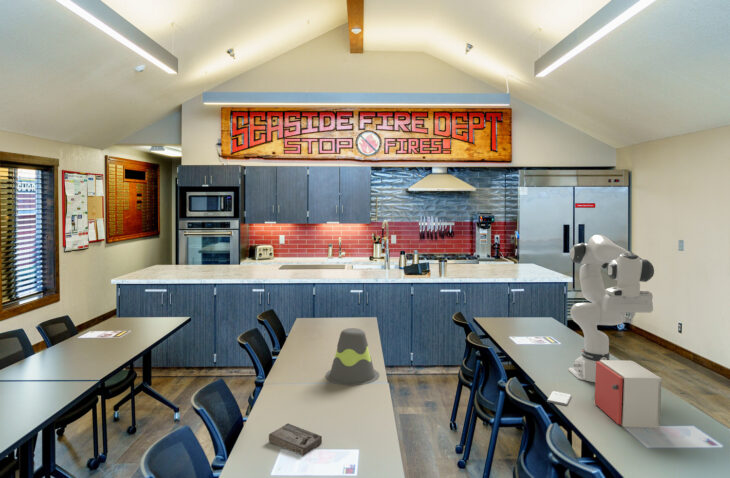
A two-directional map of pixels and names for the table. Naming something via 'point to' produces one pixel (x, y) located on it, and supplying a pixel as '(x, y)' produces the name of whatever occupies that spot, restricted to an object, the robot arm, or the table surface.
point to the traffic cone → (352, 360)
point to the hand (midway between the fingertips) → (627, 322)
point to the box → (295, 439)
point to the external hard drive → (559, 398)
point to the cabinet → (638, 394)
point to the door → (608, 392)
